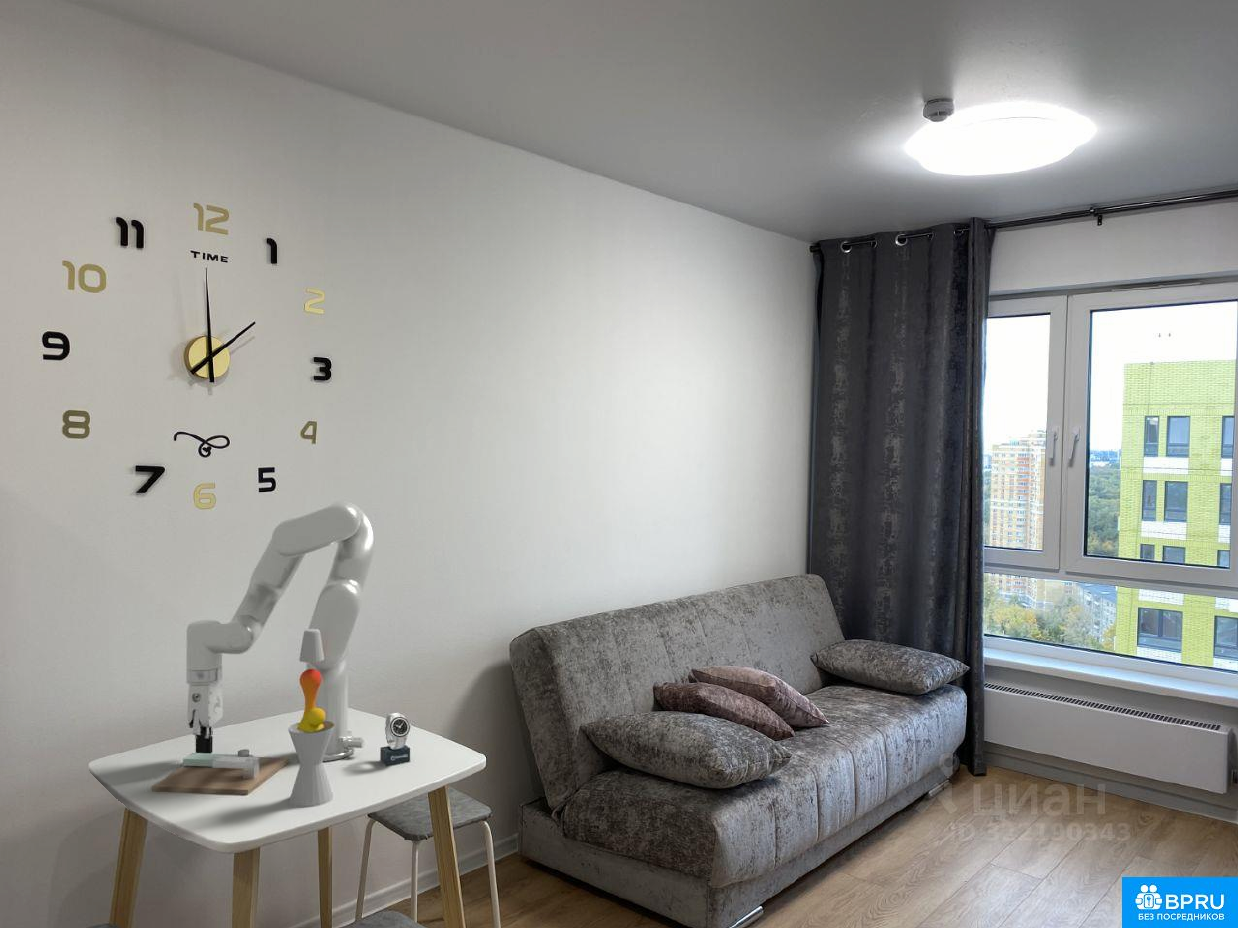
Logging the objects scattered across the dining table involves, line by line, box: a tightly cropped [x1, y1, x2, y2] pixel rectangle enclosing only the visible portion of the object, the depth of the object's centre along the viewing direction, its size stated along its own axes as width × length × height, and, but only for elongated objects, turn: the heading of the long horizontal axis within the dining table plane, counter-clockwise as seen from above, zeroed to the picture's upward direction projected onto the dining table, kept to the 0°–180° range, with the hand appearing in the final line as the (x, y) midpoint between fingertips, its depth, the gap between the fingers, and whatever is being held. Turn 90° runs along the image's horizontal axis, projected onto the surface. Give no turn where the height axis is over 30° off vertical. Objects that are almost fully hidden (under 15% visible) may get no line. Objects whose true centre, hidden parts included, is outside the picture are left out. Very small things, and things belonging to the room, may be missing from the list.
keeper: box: [212, 756, 259, 779], centre depth 200 cm, size 9×3×4 cm, turn 86°
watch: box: [379, 712, 412, 767], centre depth 213 cm, size 6×8×11 cm
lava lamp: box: [287, 628, 334, 808], centre depth 190 cm, size 9×9×35 cm
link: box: [182, 752, 255, 767], centre depth 207 cm, size 15×4×2 cm, turn 86°
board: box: [151, 748, 290, 795], centre depth 203 cm, size 21×20×4 cm
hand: (204, 754), depth 212 cm, fingers closed
